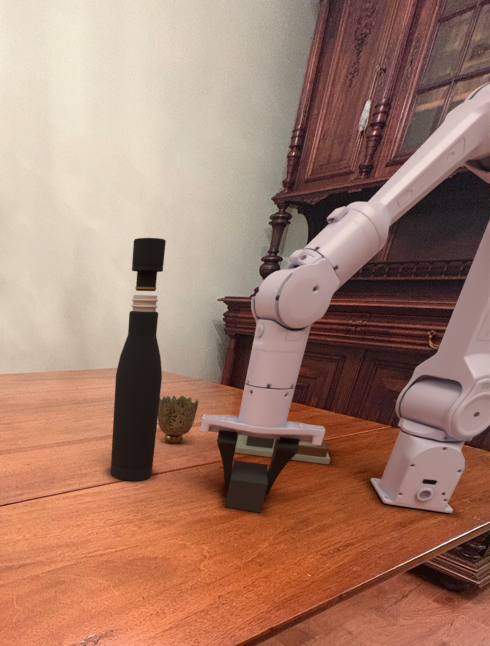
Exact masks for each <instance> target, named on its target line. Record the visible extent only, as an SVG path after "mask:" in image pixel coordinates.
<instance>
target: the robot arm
mask: <svg viewBox="0 0 490 646" xmlns="http://www.w3.org/2000/svg"><path fill="white" fill-rule="evenodd" d="M461 166H464V167H465V168H466V169H468V170H469V171H471V172H472V173H473V174H474V175H475V176H478V177H479V178H480V179H481V180H483V181H484V182H486V183H487V184H490V81H488V82H486V83H484V84H481V85H480V86H478V87H477V88H476V89H474V90H473V91H472V92H471V93H470V94H469V95H468V96H467V97H466V98H465V100H464V101H463V102H462V103H460V104H458V105H457V106H456V107H454V108H453V109H452V110H450V111H449V112H448V113H447V114H446V116H445V118H444V120H443V122H442V123H441V124H440V126H439V127H438V128H437V129H435V131H434V132H433V133H432V134H431V135H430V136H429V137H428V138H427V139H426V140H425V142H423V143H422V144H421V146H419V148H417V150H416V151H415V152H414V153H413V154H412V155H411V156H410V157H409V158H408V159H407V160H406V161H405V162H404V163H403V164H402V166H400V167H399V169H397V171H396V172H395V173H393V175H392V176H391V177H390V178H389V179H388V180H387V181H386V182H385V184H383V185H382V186H381V187H380V188H379V190H378V191H376V193H375V194H374V195H372V197H371V198H370V199H369V200H368V201H354V202H351V203H349V204H348V205H346V206H341V207H338V208H335V209H334V210H333V211H332V212H331V213H330V214H329V215H327V217H326V221H327V223H328V224H327V225H326V226H325V227H324V228H323V229H322V230H321V231H320V232H319V233H318V234H316V236H315V237H314V238H312V240H311V241H309V243H308V244H307V245H305V246H304V248H302V249H297V250H295V251H294V252H292V253H291V254H290V256H289V257H288V260H289V263H288V265H287V268H284V269H283V268H282V269H279V270H276V271H274V272H272V273H270V274H269V275H268V276H267V277H265V279H264V280H263V281H262V282H261V283H260V285H259V287H258V292H256V294H255V295H254V296H252V297H251V302H250V309H251V314H252V316H253V318H254V320H255V331H254V337H253V342H252V347H251V352H250V356H249V362H248V366H247V372H246V377H245V382H244V387H243V392H242V397H241V402H240V407H239V411H238V412H239V413H238V415H232V414H231V415H229V414H226V415H225V414H207V413H204V414H203V415H202V417H201V421H200V429H199V433H205V434H208V433H209V432H210V433H218V434H217V439H216V443H217V448H218V450H219V455H220V458H221V463H222V468H223V469H222V470H223V489H224V490H228V488H229V484H230V479H231V474H232V468H233V464H234V458H235V454H236V453H235V448H236V444H237V439H238V435H244V436H253V437H262V438H270V439H276V440H275V445H274V450H273V454H272V457H271V459H270V464H269V467H268V486H267V490H266V493H265V496H268V495H269V494H270V492H271V489H272V487H273V485H274V484H275V482H276V480H277V478H278V477H279V475H280V474H281V472H282V471H283V470H284V469H285V467H286V466H287V465H288V464H289V462H290V461H292V460H291V459H292V458H293V457H294V456H295V454H296V453H297V451H298V449H299V442H306V443H311V444H312V445H319V446H321V443H322V440H323V438H324V437H325V434H326V428H325V427H324V425H317V424H316V425H315V424H309V423H304V422H298V421H292V420H288V418H289V417H288V416H289V413H290V409H291V405H292V402H293V398H294V394H295V391H296V385H297V381H298V378H299V373H300V370H301V366H302V363H303V359H304V355H305V351H306V347H307V342H308V339H309V335H310V331H311V328H312V324H314V323H315V322H317V321H318V320H321V319H322V318H323V317H324V315H325V314H326V313H327V311H328V309H329V307H330V305H331V301H332V298H333V296H334V294H335V292H337V291H338V290H339V289H340V288H341V287H342V286H343V285H344V284H345V283H346V282H348V281H349V280H350V279H351V278H352V277H353V276H354V275H355V274H357V272H358V271H360V270H361V269H362V268H363V267H364V266H365V265H366V264H367V263H368V262H369V261H370V260H371V259H372V258H373V257H375V256H376V255H377V254H378V253H379V252H380V251H381V250H382V249H383V248H384V247H385V245H386V243H387V240H388V237H389V230H390V227H391V226H392V225H393V224H394V223H395V222H397V220H399V219H400V218H401V217H402V216H403V215H405V214H406V213H408V211H409V210H410V209H412V208H413V207H414V206H415V205H416V204H417V203H419V202H420V201H421V200H423V199H424V198H425V197H426V196H427V195H428V194H429V193H431V191H433V190H434V189H435V188H436V187H437V186H439V185H440V184H441V183H442V182H443V181H445V180H446V179H447V178H448V177H449V176H450V175H451V174H452V173H454V172H455V171H456V170H458V168H460V167H461ZM395 402H396V403H395V414H396V416H397V418H398V419H399V421H398V424H397V427H399V428H400V430H399V432H398V435H397V437H396V440H395V443H394V444H393V448H392V450H391V453H390V455H389V458H388V460H387V463H386V465H385V468H384V471H383V473H382V476H381V478H376V477H371V478H370V480H369V481H370V483H371V484H372V486H373V488H374V490H375V491H376V494H378V496H379V498H380V499H381V501H382V503H383V504H386V505H392V506H397V507H398V506H399V507H405V508H413V509H418V510H425V511H433V512H439V513H446V514H453V512H454V509H453V508H452V506H451V505H450V504H449V502H450V500H451V497H452V496H453V493H454V491H455V490H456V487H457V486H458V483H459V481H460V479H461V477H462V475H463V473H464V471H465V467H466V460H465V457H464V455H463V453H462V449H463V447H464V445H465V443H466V442H471V441H473V438H474V437H476V436H478V435H480V434H481V433H482V432H484V431H485V430H487V428H488V427H490V219H489V220H488V222H487V225H486V228H485V230H484V233H483V236H482V238H481V240H480V243H479V246H478V247H477V250H476V253H475V256H474V258H473V261H472V264H471V266H470V268H469V271H468V273H467V275H466V279H465V281H464V284H463V285H462V289H461V290H460V294H459V296H458V299H457V301H456V304H455V306H454V309H453V311H452V314H451V317H450V318H449V322H448V324H447V327H446V329H445V331H444V335H443V337H442V339H441V342H440V344H439V347H438V349H437V352H436V353H435V354H434V355H432V356H430V357H429V358H428V359H426V360H424V361H422V363H420V364H419V365H416V367H415V369H414V371H413V373H412V376H411V378H410V379H409V381H408V383H407V384H406V385H405V386H404V388H402V390H401V392H400V393H399V395H398V397H397V399H396V401H395Z"/></svg>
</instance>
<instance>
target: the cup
mask: <svg viewBox="0 0 490 646" xmlns="http://www.w3.org/2000/svg"><path fill="white" fill-rule="evenodd" d="M192 400H193V399H192V397H190V396H189V397H186V396H184V395H181V396H179V397H176V396H175V395H173V396H172V398H171V397H170V395H167V396H165V395H163V397H162V399H161V398H160V400H159V410H158V419H157V425H158V427H159V429H160V431H161V432H162V433H163V434H164V435H163V439H164V442H166V443H168V444H171V445H175V444H176V445H177V444H180V443H182V442H183V440H184V435H186V434H188V433H189V432H190V430H191V429H192V427H193V425H194V422H195V418H196V414H197V410H198V407H199V403H200V400H199V399H198V398H197V399H195V401H192Z"/></svg>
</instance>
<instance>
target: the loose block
mask: <svg viewBox="0 0 490 646" xmlns="http://www.w3.org/2000/svg"><path fill="white" fill-rule="evenodd" d="M268 470H269V468H268V464H266V463H259V462H252V461H242V460H236V459H235V460H234V459H233V466H232V474H231V479H230V484H229V488H228V489H227V494H226V497H225V498H226V499H225V503H224V508H229V509H235V510H239V511H240V510H241V511H247V512H253V513H259V514H261V513H262V509H263V504H264V501H265V497H266V495H265V493H266V490H267V486H268Z"/></svg>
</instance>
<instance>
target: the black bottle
mask: <svg viewBox="0 0 490 646" xmlns="http://www.w3.org/2000/svg"><path fill="white" fill-rule="evenodd" d="M166 242H167V241H166V239H165V238H160V237H139V238H138V237H137V238H134V240H133V245H132V246H133V247H132V262H131V266H132V267H131V272H136V284H135V288H134V289H135V291H136V292H156V291H157V278H158V273H162V272H164V264H165V252H166ZM131 301H132V304H131V308H132V310H130V311H129V313H128V328H127V336H126V339H125V341H124V344H123V347H122V350H121V352H120V355H119V358H118V359H119V360H118V363H117V368H116V373H115V382H114V383H115V385H114V400H113V401H114V402H113V403H114V404H113V421H112V439H111V455H110V456H111V459H110V475H111V476H112V477H114V478H115V479H118V480H122V481H127V482H140V481H145V480H148V479H150V478H151V477H152V475H153V466H154V456H155V447H156V437H157V429H158V428H157V426H158V410H159V400H160V399H161V389H162V382H163V381H162V380H163V372H162V359H161V357H162V356H161V352H160V347H159V342H158V338H157V331H158V320H159V312H158V311H157V308H158V305H157V303H158V302H159V300H158V295H149V294H147V295H146V294H134V295H133V298H132V299H131Z"/></svg>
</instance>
